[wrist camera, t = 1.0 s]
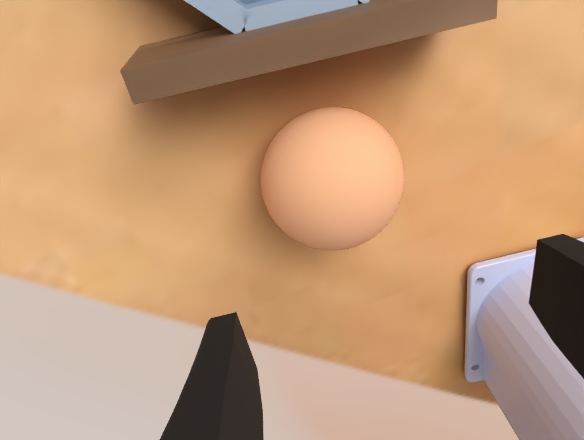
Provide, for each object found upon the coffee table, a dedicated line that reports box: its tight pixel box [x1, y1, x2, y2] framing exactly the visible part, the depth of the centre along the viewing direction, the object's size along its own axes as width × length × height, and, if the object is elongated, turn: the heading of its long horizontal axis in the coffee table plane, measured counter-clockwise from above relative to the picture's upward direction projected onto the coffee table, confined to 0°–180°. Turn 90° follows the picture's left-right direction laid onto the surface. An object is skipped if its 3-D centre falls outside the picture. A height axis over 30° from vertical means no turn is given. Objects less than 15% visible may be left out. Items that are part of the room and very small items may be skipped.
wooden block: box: [120, 0, 497, 104], centre depth 14 cm, size 1×11×4 cm, turn 101°
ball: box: [261, 107, 404, 250], centre depth 16 cm, size 5×5×5 cm
